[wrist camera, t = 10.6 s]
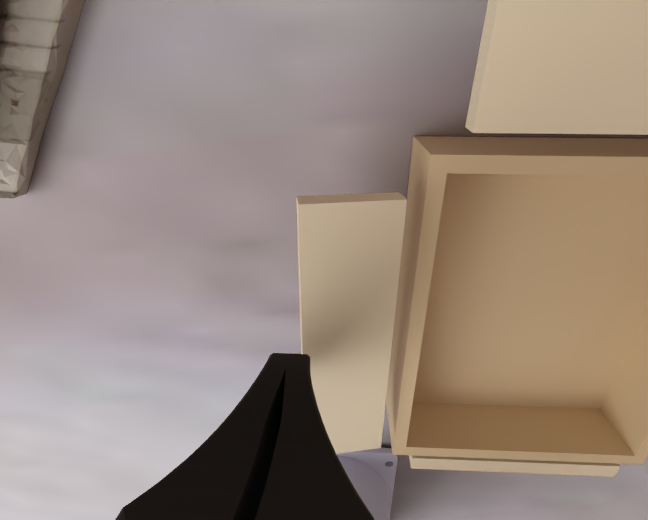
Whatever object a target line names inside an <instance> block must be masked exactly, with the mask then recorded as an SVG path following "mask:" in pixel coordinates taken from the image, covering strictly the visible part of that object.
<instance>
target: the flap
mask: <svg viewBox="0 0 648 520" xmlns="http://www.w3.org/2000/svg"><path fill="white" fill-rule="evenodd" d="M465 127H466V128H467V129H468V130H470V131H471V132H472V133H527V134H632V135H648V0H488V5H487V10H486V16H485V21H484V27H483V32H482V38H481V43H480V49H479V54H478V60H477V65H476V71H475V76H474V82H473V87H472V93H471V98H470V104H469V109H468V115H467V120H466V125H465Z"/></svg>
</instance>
